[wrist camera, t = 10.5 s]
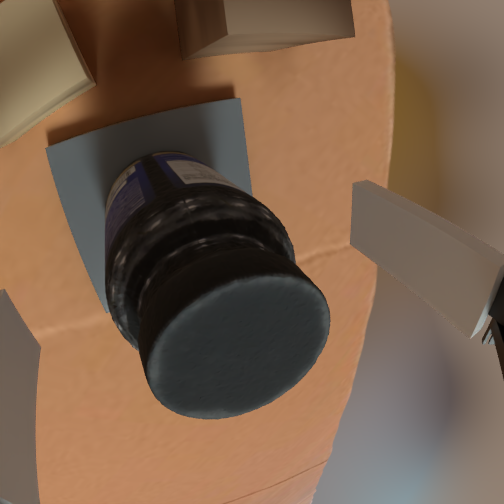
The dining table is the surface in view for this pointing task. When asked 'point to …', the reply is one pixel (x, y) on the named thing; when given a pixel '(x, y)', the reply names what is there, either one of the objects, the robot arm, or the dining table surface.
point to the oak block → (36, 65)
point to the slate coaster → (131, 148)
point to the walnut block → (258, 25)
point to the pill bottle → (207, 289)
